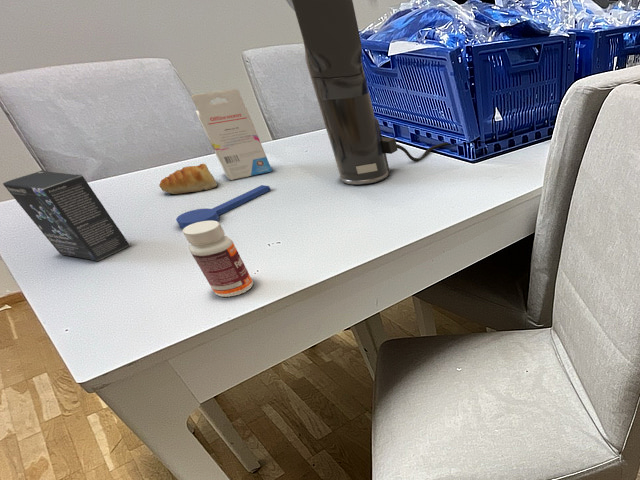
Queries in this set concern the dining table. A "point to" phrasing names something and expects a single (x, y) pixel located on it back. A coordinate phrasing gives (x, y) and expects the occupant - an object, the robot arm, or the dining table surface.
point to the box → (68, 214)
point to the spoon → (218, 208)
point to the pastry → (188, 180)
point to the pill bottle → (218, 258)
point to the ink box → (231, 134)
